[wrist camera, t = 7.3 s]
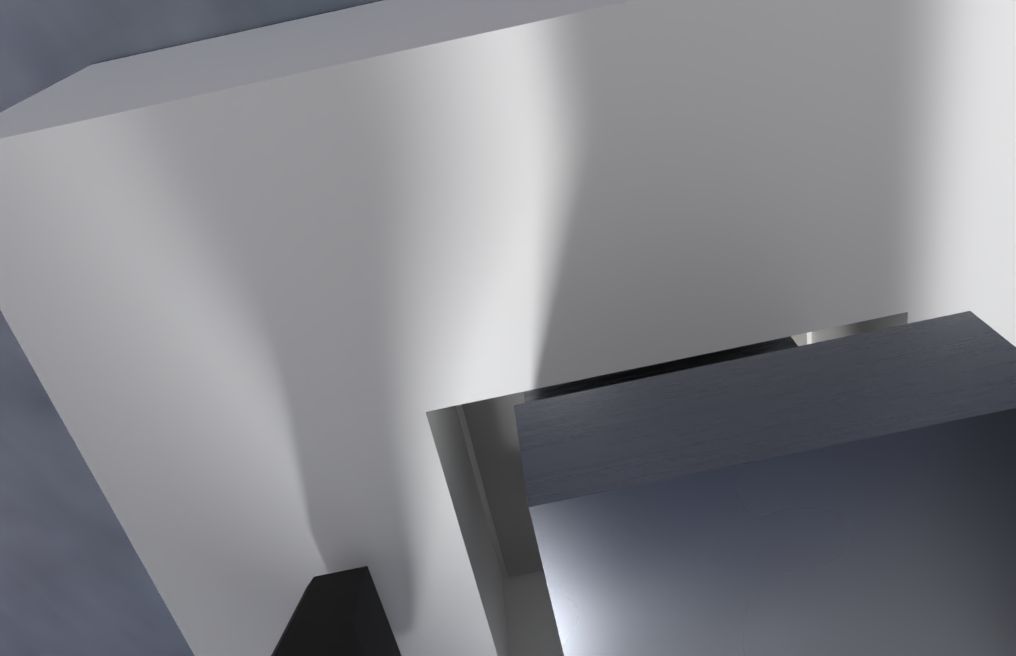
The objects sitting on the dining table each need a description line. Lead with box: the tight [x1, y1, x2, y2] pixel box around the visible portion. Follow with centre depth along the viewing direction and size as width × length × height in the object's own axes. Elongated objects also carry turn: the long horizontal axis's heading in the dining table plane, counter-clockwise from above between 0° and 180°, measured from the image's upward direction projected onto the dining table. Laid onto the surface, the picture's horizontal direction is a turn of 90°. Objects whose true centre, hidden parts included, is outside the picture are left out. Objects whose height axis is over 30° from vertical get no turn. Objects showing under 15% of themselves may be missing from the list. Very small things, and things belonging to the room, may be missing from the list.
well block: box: [0, 0, 1016, 656], centre depth 11 cm, size 12×12×4 cm
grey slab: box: [514, 311, 1016, 656], centre depth 9 cm, size 3×7×6 cm, turn 11°
